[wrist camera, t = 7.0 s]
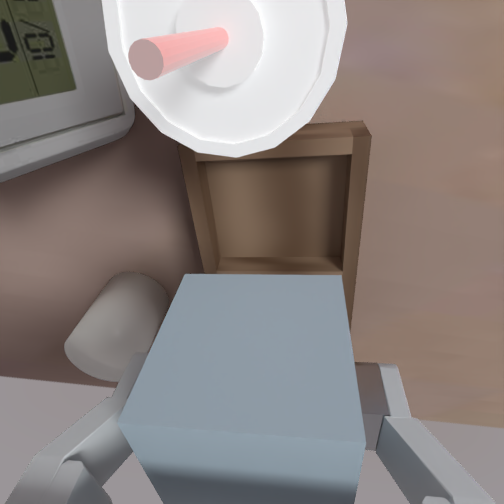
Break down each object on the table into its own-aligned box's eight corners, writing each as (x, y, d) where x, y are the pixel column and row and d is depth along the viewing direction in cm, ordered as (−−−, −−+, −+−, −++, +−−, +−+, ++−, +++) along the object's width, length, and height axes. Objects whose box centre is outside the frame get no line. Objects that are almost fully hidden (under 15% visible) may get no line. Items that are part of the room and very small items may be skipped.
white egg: (118, 317, 29) (81, 379, 24) (98, 271, 26) (51, 331, 21) (174, 319, 28) (148, 383, 23) (160, 271, 25) (126, 333, 20)
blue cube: (209, 369, 14) (170, 515, 10) (185, 273, 11) (117, 422, 7) (333, 375, 13) (347, 536, 9) (341, 275, 10) (366, 442, 6)
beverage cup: (170, 37, 16) (-128, 90, 5) (248, -105, 13) (-67, -807, 2) (265, 123, 18) (205, 305, 7) (354, 15, 15) (517, 18, 4)
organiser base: (229, 337, 28) (223, 364, 26) (191, 131, 19) (177, 146, 17) (342, 341, 27) (345, 370, 25) (362, 120, 18) (371, 135, 15)
